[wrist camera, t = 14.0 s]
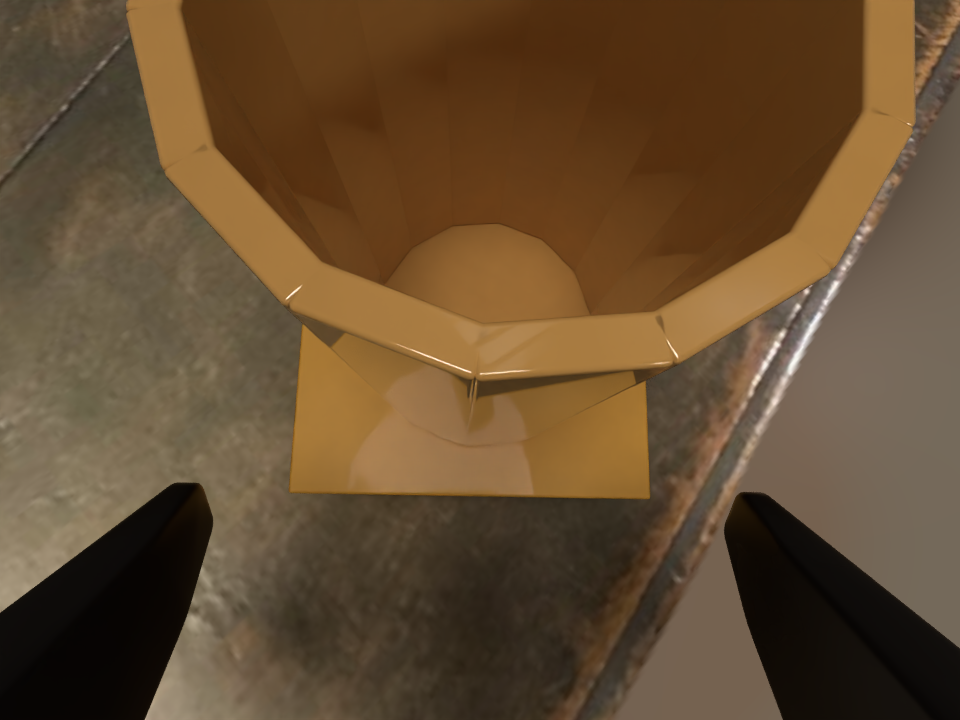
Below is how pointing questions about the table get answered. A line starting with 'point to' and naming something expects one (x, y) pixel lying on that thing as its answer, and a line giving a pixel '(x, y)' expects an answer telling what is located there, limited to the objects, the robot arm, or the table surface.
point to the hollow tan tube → (527, 177)
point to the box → (455, 445)
